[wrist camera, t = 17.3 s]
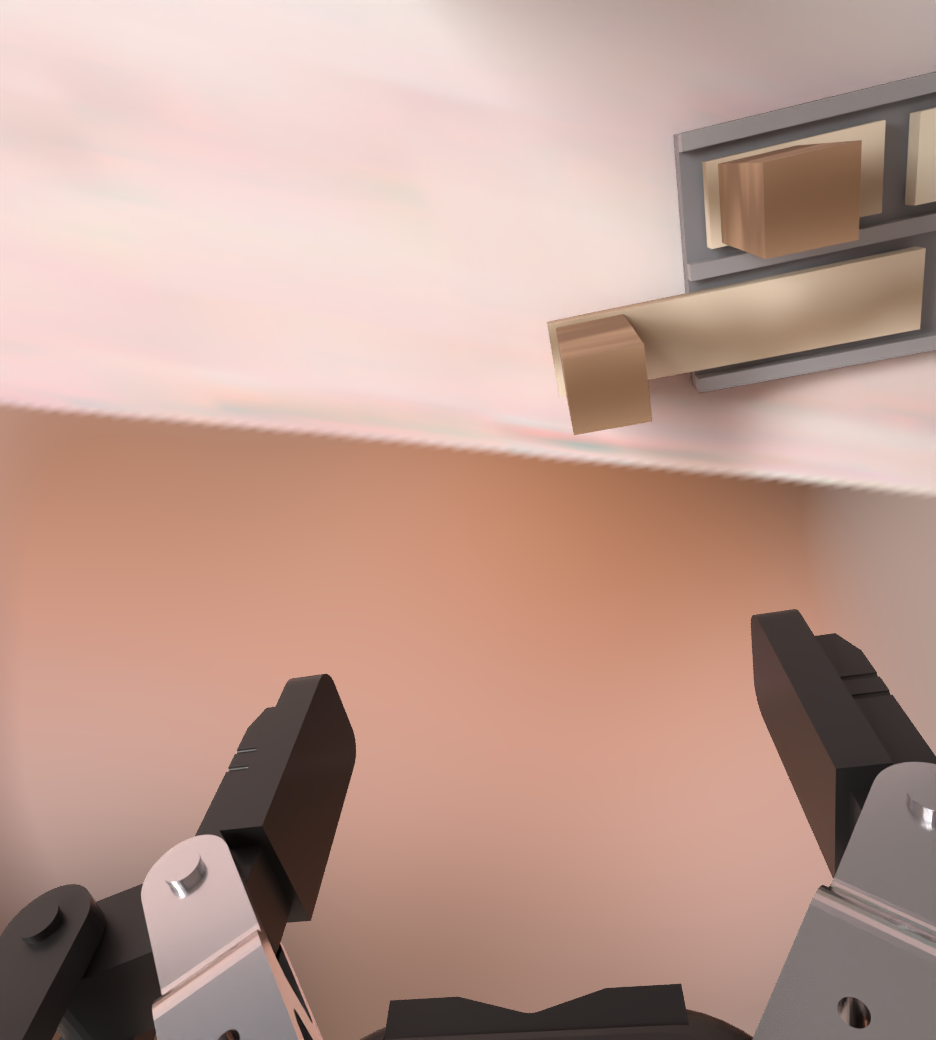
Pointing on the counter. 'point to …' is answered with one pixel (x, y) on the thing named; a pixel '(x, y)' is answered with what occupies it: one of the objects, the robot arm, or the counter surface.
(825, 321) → the cube strip
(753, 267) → the lane board
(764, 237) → the short strip
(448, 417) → the counter surface
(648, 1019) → the robot arm
